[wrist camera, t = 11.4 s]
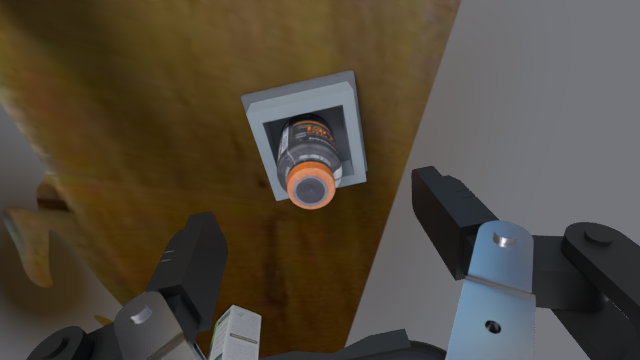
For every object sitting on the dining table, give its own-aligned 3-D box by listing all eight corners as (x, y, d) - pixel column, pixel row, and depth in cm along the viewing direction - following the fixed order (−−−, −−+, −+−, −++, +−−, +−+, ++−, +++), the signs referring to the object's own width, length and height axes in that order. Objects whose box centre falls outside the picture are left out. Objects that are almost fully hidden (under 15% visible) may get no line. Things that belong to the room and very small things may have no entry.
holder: (273, 187, 38) (271, 207, 34) (242, 95, 32) (235, 107, 28) (365, 167, 38) (374, 185, 34) (352, 69, 32) (360, 79, 28)
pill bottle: (341, 124, 33) (361, 173, 24) (319, 167, 36) (329, 228, 26) (291, 103, 32) (291, 147, 22) (272, 150, 34) (264, 208, 25)
